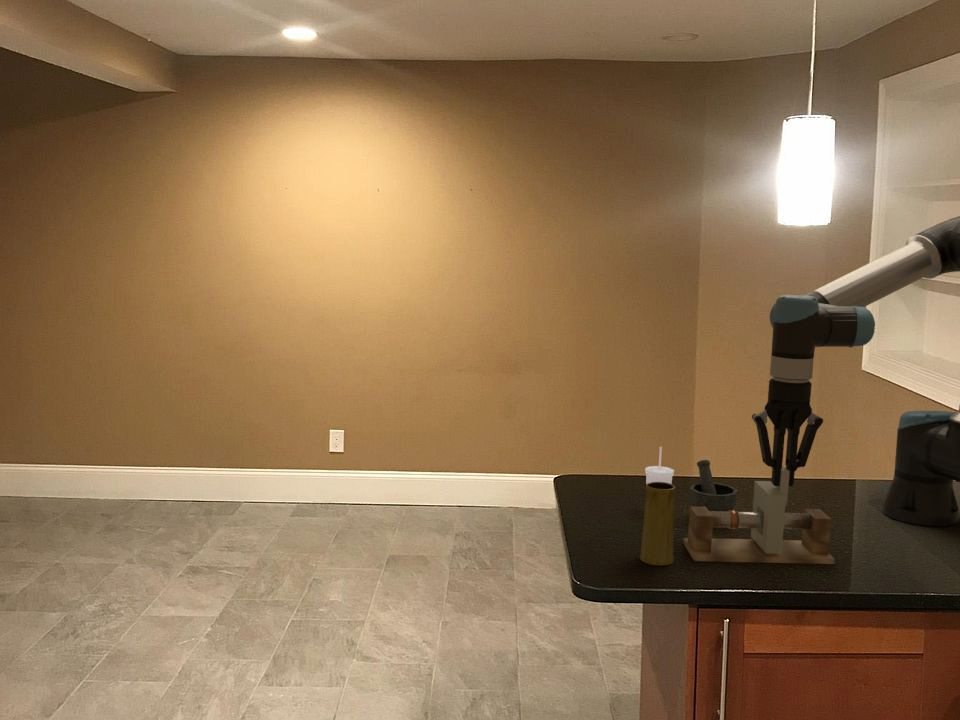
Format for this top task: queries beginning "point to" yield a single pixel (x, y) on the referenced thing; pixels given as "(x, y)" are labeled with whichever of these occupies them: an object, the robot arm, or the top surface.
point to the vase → (658, 524)
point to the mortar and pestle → (711, 491)
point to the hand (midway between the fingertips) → (780, 502)
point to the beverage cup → (659, 472)
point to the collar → (769, 516)
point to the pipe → (758, 520)
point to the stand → (748, 550)
